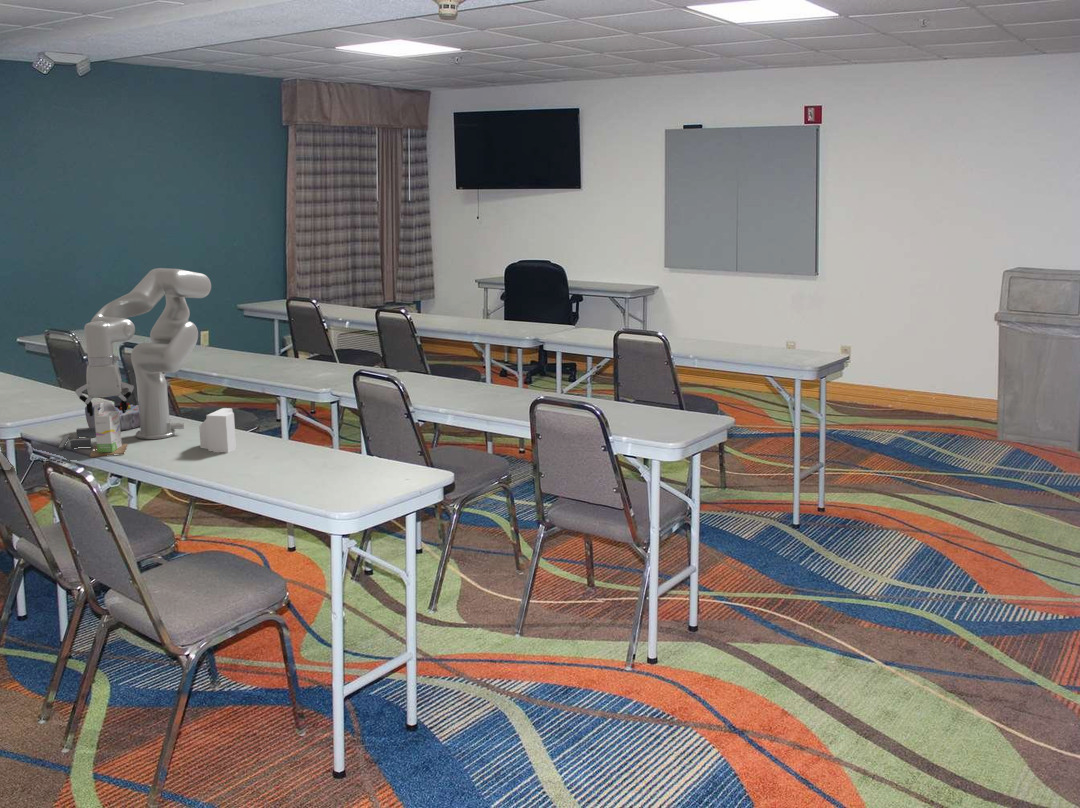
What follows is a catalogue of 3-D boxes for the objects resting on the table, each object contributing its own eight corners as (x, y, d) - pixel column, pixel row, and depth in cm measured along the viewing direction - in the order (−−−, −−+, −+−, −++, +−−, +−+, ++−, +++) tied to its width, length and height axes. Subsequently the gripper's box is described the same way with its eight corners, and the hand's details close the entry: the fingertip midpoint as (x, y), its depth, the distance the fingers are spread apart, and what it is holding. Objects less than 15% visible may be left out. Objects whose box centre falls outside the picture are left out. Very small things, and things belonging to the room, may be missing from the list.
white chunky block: (228, 453, 335) (225, 416, 332) (195, 451, 337) (192, 414, 334) (243, 444, 345) (241, 409, 342) (212, 442, 347) (209, 407, 344)
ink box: (112, 452, 332) (108, 407, 329) (96, 452, 332) (92, 407, 329) (122, 445, 341) (118, 401, 337) (107, 445, 340) (103, 401, 337)
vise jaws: (97, 435, 356) (96, 427, 355) (90, 448, 340) (90, 439, 339) (66, 437, 353) (65, 429, 352) (58, 450, 337) (57, 441, 336)
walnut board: (127, 445, 343) (127, 443, 343) (124, 454, 332) (123, 453, 332) (94, 447, 340) (94, 445, 340) (89, 457, 329) (89, 455, 329)
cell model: (79, 401, 358) (125, 392, 376) (81, 432, 360) (128, 421, 378) (106, 405, 353) (152, 395, 370) (108, 436, 355) (154, 425, 372)
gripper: (131, 356, 336) (137, 408, 340) (73, 360, 331) (80, 413, 336) (129, 361, 329) (135, 414, 333) (70, 365, 324) (77, 419, 329)
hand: (107, 413), depth 335 cm, fingers open, 9 cm apart
